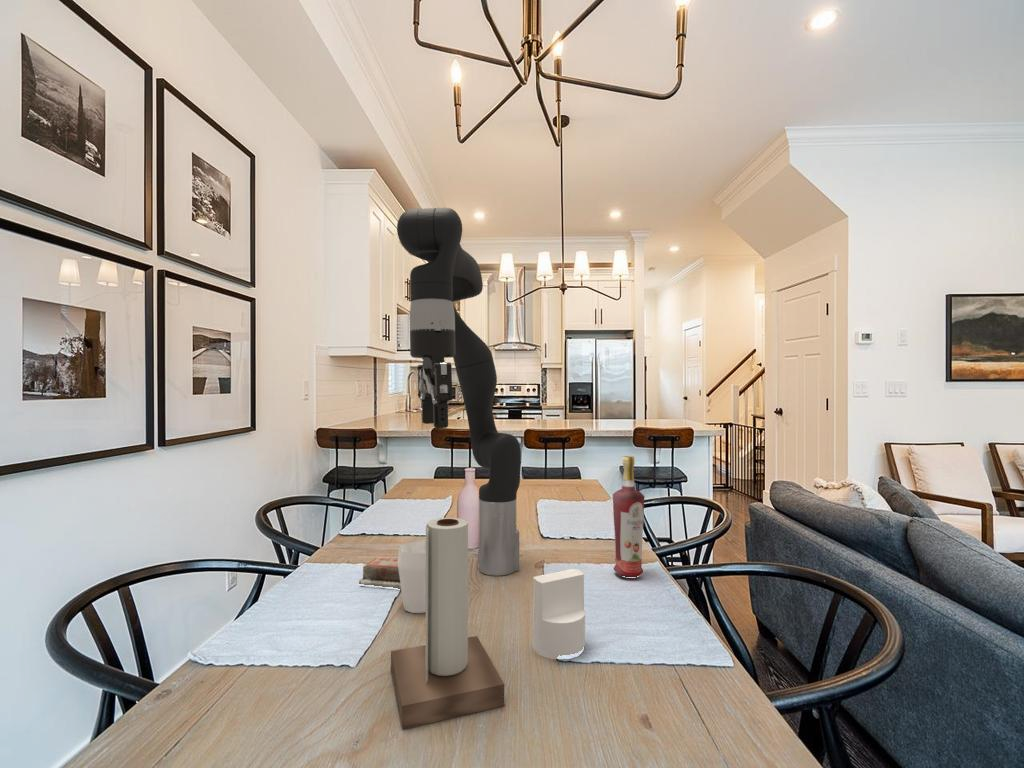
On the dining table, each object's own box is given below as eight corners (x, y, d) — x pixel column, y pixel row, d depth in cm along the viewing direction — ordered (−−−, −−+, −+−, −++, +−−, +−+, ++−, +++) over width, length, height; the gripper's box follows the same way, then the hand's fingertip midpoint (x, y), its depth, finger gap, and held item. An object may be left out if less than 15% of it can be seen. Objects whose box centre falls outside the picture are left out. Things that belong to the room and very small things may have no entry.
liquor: (624, 583, 111) (624, 459, 111) (606, 572, 118) (606, 455, 118) (651, 578, 114) (651, 458, 114) (632, 567, 120) (632, 454, 121)
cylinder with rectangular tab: (550, 665, 78) (550, 590, 78) (523, 639, 86) (523, 571, 86) (595, 651, 82) (595, 580, 82) (565, 628, 90) (566, 563, 90)
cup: (450, 600, 102) (450, 542, 102) (429, 619, 93) (429, 556, 93) (412, 594, 105) (412, 538, 105) (388, 612, 96) (388, 551, 96)
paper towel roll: (459, 650, 77) (459, 514, 77) (473, 670, 71) (474, 524, 71) (413, 662, 73) (414, 519, 73) (425, 684, 68) (426, 530, 68)
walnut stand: (477, 654, 81) (477, 635, 81) (504, 705, 68) (504, 684, 68) (390, 670, 76) (390, 651, 76) (402, 729, 63) (402, 706, 63)
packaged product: (356, 567, 109) (377, 552, 118) (356, 588, 108) (377, 572, 118) (434, 572, 105) (448, 557, 115) (433, 595, 105) (448, 578, 115)
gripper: (402, 332, 87) (404, 423, 87) (419, 324, 74) (421, 431, 74) (443, 333, 90) (445, 421, 90) (466, 325, 77) (468, 428, 77)
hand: (434, 425), depth 82 cm, fingers open, 8 cm apart
